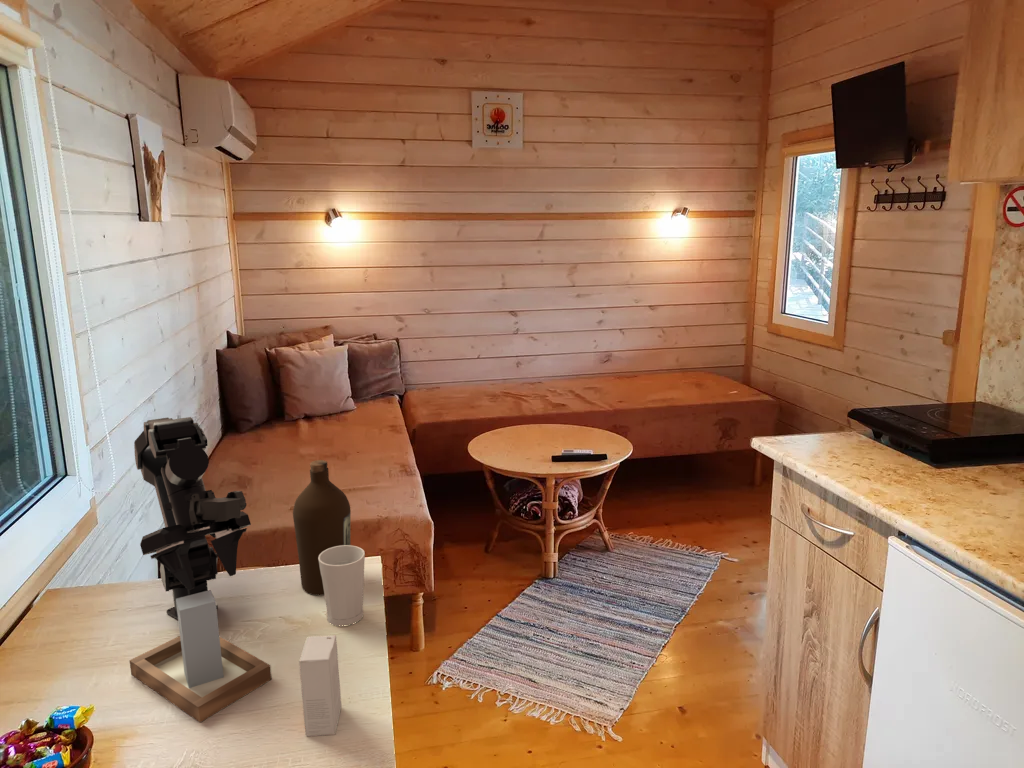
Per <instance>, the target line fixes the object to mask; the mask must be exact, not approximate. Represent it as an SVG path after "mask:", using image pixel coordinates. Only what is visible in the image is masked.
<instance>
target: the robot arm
mask: <svg viewBox="0 0 1024 768" xmlns="http://www.w3.org/2000/svg"><path fill="white" fill-rule="evenodd" d="M133 446H134V448H133V449H134V461H135V465H136V470H137V471H138V470H140V472H141V475H142V479H143V481H145V482H146V483H148V484H149V485H151V486H153V487H154V490H155V493H156V496H157V500H158V505H159V508H160V512H161V515H162V519H163V522H164V527H162V528H160V529H157V530H155V531H153V532H150V533H148V534H146V535H144V536H142V538H141V541H140V543H139V545H140V549H141V553H142V555H143V556H146V555H150V554H151V555H150V556H149V557H150V559H152V560H153V559H155V560H156V561H158V562H159V563H160V567H159V571H160V578H161V583H162V585H163V587H164V590H165V592H166V593H167V592H170V591H172V597H173V598H172V599H173V607H171V608H169V609H166V614H168V615H169V616H171V617H172V618H174V619H176V620H178V614H177V606H176V599H177V598H181V597H185V596H189V595H193V594H196V593H200V592H204V591H208V590H209V588H208V581H211V580H216V579H217V575H218V559H219V560H220V563H221V564H222V566H223V568H224V570H225V572H226V573H227V574H228V576H229V577H233V576H235V575H236V573H237V561H238V560H237V558H238V546H239V542H240V539H241V537H242V535H243V534H244V533H246V532H247V529H248V527H249V526H251V524H252V523H251V519H250V517H249V514H248V513H246V512H244V510H245V509H246V507H247V504H248V503H247V500H246V496H245V495H244V493H243V491H242V490H233V491H229V492H227V494H226V496H225V497H216V495H215V492H214V491H212V489H208V490H207V489H206V487H205V483H204V480H203V476H204V475H205V473H206V472H207V470H208V467H209V464H210V463H209V462H210V460H209V459H210V458H209V455H208V453H207V452H206V449H207V446H208V438H207V436H206V434H205V432H204V431H203V429H202V428H201V427H200V425H199V424H198V422H195V420H194V418H193V417H191V416H188V417H182V418H174V419H173V418H169V417H163V418H162V417H161V418H154V419H148V420H147V421H144V422H143V431H142V432H141V433H140V434H139V435H138V436H137V438H136V439H135V440H134V445H133ZM209 535H210V536H211V537H212V538H214V539H212V540H210V543H211V545H212V546H210V545H209V543H208V539H207V538H206V536H209ZM218 606H219V605H217V604H216V609H217V610H218V608H219V607H218Z"/></svg>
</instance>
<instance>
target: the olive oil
mask: <svg viewBox="0 0 1024 768" xmlns="http://www.w3.org/2000/svg"><path fill="white" fill-rule="evenodd" d="M309 465H310V469H309V475H310V482H309V484H307V485H306V487H305V488H304V489H303V490H302V491H301V493H299V495H298V496H297V498H296V499H295V502H294V505H293V510H292V519H293V526H294V533H295V539H296V549H297V557H298V563H299V573H300V581H301V582H300V583H301V588H302V590H303V591H304V592H305V593H307V594H310V595H312V596H313V595H314V596H325V595H324V588H323V581H322V576H321V572H320V566H319V560H318V557H319V555H320V554H321V553H322V552H323V551H324V550H326V549H329V548H332V547H335V546H341V545H352V544H351V543H352V542H351V514H352V513H351V510H352V509H351V505H350V502H349V501H350V500H349V499H348V496H347V495H346V494H345V492H344V491H343V490H342V489H340V488H339V487H338V486H336V485H335V484H334V483H333V482H332V481H330V478H329V475H330V474H329V473H330V472H329V468H328V461H327V460H323V459H316V460H313V461H311V462H310V463H309Z"/></svg>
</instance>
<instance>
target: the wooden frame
mask: <svg viewBox="0 0 1024 768" xmlns="http://www.w3.org/2000/svg"><path fill="white" fill-rule="evenodd" d="M219 637H220V647H221V656H222V666H223V675H224V677H223V678H220V679H217V680H214V681H210V682H207V683H204V684H201V685H198V686H195V687H191V688H189V687H188V684H187V681H186V677H185V673H184V665H183V656H182V648H181V640H180V635H179V636H177V637H174V638H172V639H170V640H168V641H166V642H164V643H162V644H160V645H158V646H156V647H154V648H151V649H150V650H148V651H146V652H143V653H142V654H140V655H137V656H135V657H133V658H131V659H130V660H129V667H130V675H131V676H133V677H135V678H136V679H137V680H139V681H140V682H142V683H143V684H144V685H146V686H147V687H149V688H150V689H151V690H153V691H154V692H155V693H157V694H159V695H160V696H161V697H163V698H164V699H166V700H167V701H168V702H170V703H171V704H173V705H174V706H176V707H177V708H178V709H180V710H181V711H183V712H184V713H186V714H187V715H189V716H190V717H191V718H192V719H194V720H196V721H197V722H198V723H202V722H203V721H205V720H207V719H209V718H210V717H212V716H213V715H215V714H217V713H218V712H220V711H222V710H223V709H225V708H226V707H228V706H230V705H231V704H233V703H235V702H237V701H238V700H240V699H241V698H243V697H245V696H246V695H248V694H250V693H251V692H253V691H255V690H256V689H258V688H259V687H261V686H263V685H265V684H266V683H268V682H270V681H271V680H272V671H271V664H269V663H267V662H265V661H264V660H262V659H260V658H259V657H256V656H254V655H253V654H251V653H249V652H247V651H246V650H244V649H242V648H241V647H239V646H238V645H235V644H233V643H232V642H230V641H228V640H226V639H225V638H223V637H222V636H219Z"/></svg>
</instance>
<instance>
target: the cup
mask: <svg viewBox="0 0 1024 768" xmlns="http://www.w3.org/2000/svg"><path fill="white" fill-rule="evenodd" d="M365 553H366V552H365V550H364V549H363V548H361V547H360V546H356V545H352V544H351V545H341V546H335V547H332V548H329V549H326V550H324V551H323V552H322V553H321V554H320V555H319V557H318V560H319V566H320V572H321V576H322V581H323V588H324V595H323V596H324V601H325V606H326V618H327V619H326V621H327V622H328V623H329V624H330V623H331V624H330V625H332V624H333V625H332V626H334V625H336V626H335V627H345V626H344V625H349V624H352V625H354V624H353V623H355V622H357V621H359V620H360V619H361V618H362V617H364V590H365V588H364V586H365V585H364V582H365V562H366V561H365V559H366V558H365V556H366V554H365ZM362 619H363V618H362ZM362 619H361V620H362ZM361 620H360V621H361ZM360 621H359V622H360ZM357 623H358V622H357ZM355 624H356V623H355ZM339 625H340V626H339ZM342 625H343V626H342ZM349 626H350V625H349Z"/></svg>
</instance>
